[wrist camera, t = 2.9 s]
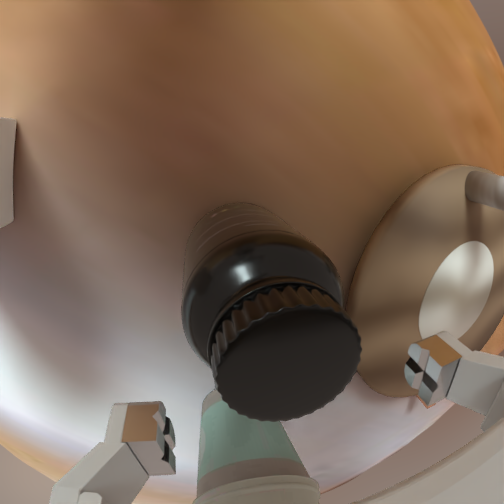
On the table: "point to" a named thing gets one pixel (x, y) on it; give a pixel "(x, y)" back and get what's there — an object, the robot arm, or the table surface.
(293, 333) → the supplement bottle
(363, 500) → the robot arm
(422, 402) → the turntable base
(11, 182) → the milk carton
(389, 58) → the table surface
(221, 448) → the coffee cup
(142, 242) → the table surface
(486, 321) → the turntable
